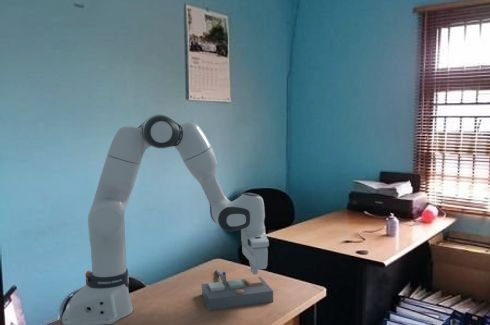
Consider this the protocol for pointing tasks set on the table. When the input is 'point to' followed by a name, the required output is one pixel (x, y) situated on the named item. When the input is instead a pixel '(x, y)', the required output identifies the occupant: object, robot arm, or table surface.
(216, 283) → the white button
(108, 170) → the robot arm
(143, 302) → the table surface
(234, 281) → the sage button
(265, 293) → the button panel
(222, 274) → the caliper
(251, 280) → the terracotta button
